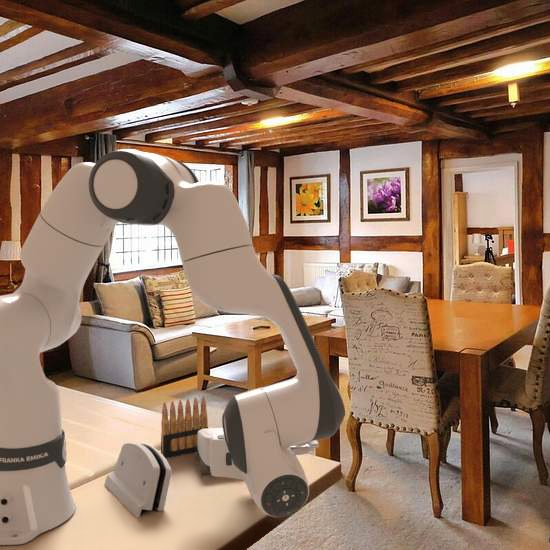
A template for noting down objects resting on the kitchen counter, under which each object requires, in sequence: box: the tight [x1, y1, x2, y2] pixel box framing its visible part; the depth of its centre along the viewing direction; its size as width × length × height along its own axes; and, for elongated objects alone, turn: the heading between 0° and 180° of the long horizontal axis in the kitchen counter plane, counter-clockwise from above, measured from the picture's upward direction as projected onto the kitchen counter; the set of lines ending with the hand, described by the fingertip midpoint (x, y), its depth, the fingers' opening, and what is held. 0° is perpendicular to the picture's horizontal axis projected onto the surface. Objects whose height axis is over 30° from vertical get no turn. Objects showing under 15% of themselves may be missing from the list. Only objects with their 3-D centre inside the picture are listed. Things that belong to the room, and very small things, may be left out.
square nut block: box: [195, 439, 212, 477], centre depth 120 cm, size 10×10×4 cm
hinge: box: [104, 442, 172, 519], centre depth 106 cm, size 17×5×10 cm, turn 36°
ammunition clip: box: [160, 396, 209, 459], centre depth 125 cm, size 11×2×12 cm, turn 117°
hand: (247, 424), depth 109 cm, fingers closed on pin, 4 cm apart
